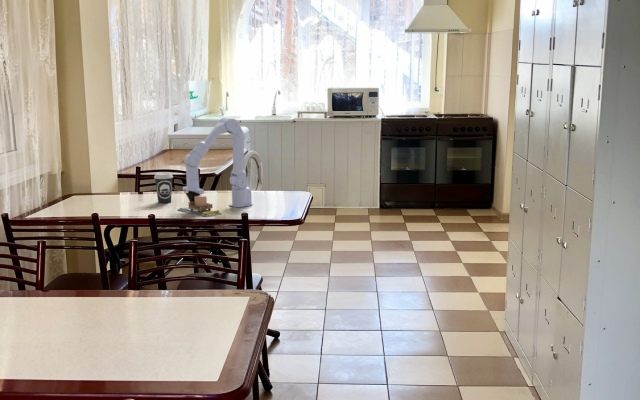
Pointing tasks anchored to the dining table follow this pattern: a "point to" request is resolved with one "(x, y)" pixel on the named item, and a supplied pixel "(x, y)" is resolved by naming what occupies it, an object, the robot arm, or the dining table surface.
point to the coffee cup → (164, 186)
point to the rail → (201, 212)
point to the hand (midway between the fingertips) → (193, 207)
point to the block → (200, 200)
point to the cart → (194, 207)
